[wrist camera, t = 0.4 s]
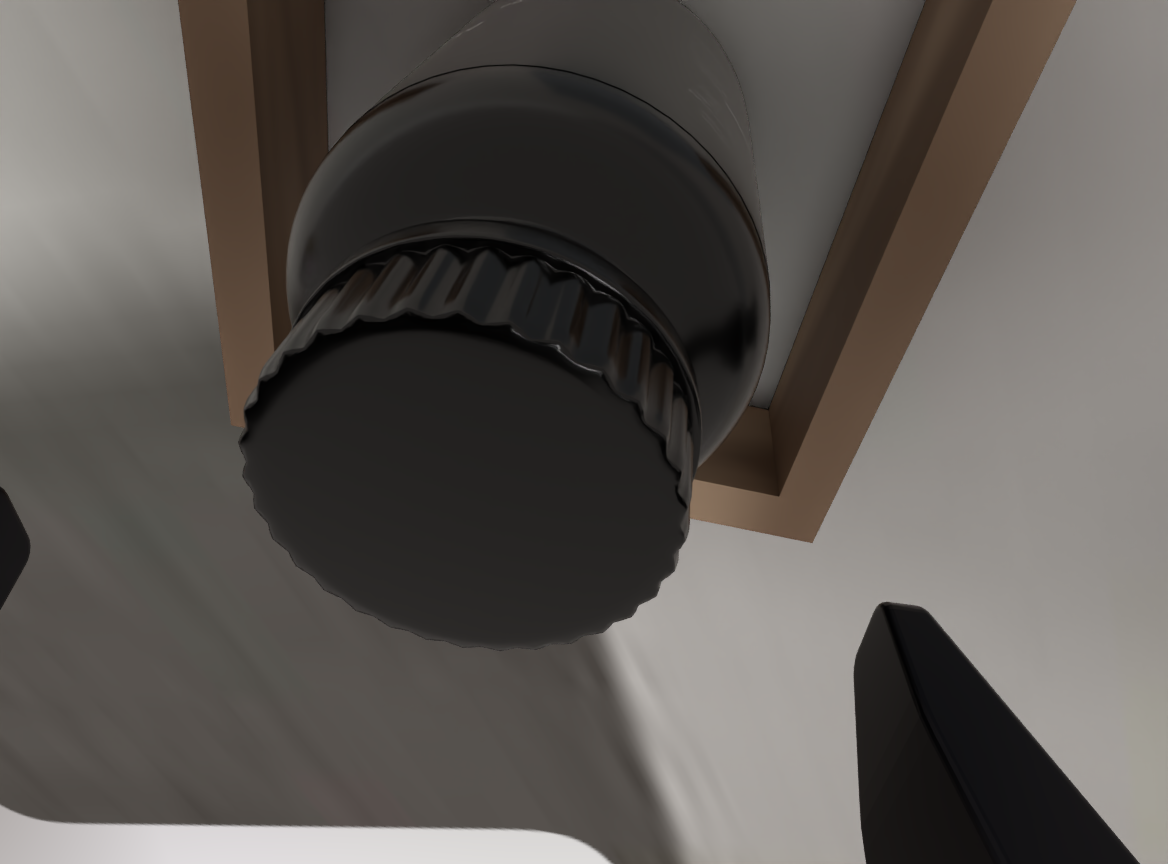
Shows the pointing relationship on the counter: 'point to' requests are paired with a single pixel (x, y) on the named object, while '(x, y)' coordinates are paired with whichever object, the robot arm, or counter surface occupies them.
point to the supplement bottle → (517, 326)
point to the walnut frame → (840, 300)
